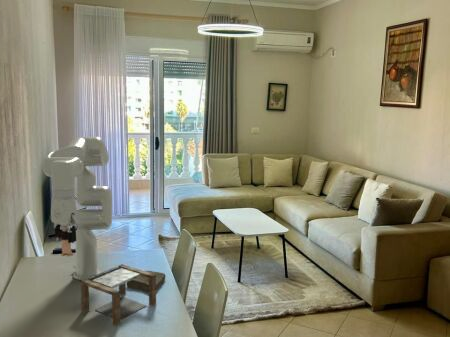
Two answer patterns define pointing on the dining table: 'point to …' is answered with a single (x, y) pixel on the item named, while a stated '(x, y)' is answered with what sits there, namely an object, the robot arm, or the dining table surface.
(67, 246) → the grandmother figurine
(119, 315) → the frame
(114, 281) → the trapdoor plate
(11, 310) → the dining table surface
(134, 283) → the marble piece
